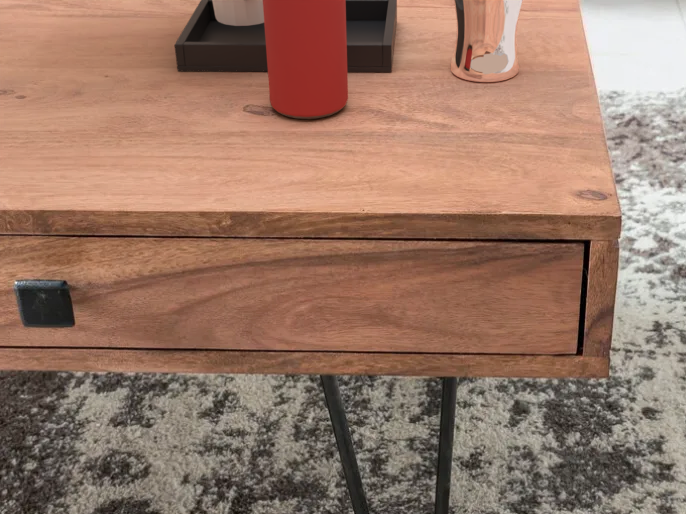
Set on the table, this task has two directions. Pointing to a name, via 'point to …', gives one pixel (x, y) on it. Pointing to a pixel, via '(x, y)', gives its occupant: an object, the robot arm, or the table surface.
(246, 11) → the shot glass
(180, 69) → the tray
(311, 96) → the beer can
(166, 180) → the table surface
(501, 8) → the beer glass
